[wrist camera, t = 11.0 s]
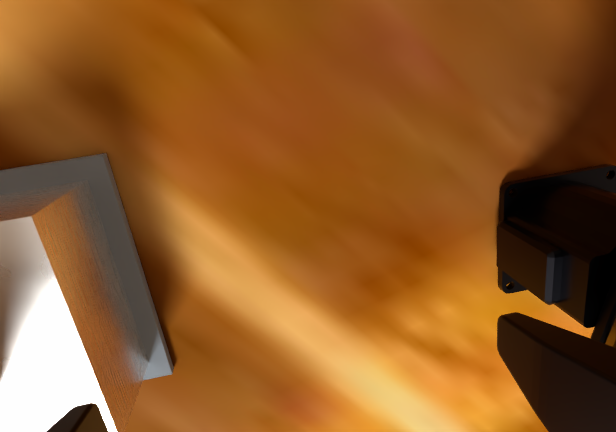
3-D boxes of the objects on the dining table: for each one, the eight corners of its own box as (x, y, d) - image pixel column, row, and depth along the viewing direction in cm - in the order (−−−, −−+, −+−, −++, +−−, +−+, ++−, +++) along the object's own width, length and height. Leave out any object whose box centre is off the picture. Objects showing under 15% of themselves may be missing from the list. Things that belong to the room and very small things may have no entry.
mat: (106, 152, 18) (102, 154, 18) (173, 367, 22) (172, 374, 22) (-183, 199, 17) (-195, 203, 17) (-58, 415, 21) (-64, 423, 21)
